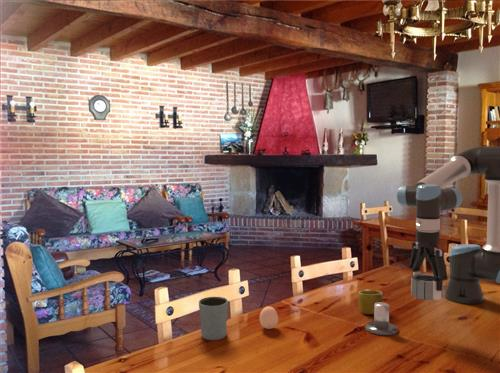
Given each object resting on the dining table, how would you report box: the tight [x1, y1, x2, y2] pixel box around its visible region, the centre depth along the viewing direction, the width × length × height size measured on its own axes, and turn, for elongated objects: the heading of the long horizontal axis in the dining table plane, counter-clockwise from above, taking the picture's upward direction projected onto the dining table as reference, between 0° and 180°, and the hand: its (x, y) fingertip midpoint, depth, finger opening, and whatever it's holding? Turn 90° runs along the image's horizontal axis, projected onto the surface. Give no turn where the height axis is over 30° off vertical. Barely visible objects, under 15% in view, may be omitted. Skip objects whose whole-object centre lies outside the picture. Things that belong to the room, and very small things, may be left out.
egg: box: [259, 306, 279, 330], centre depth 160 cm, size 7×7×8 cm
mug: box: [357, 288, 384, 316], centre depth 177 cm, size 12×10×10 cm
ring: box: [410, 273, 444, 301], centre depth 154 cm, size 10×10×6 cm
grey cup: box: [198, 296, 229, 341], centre depth 155 cm, size 10×10×12 cm
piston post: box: [365, 302, 399, 337], centre depth 159 cm, size 11×11×9 cm
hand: (426, 294), depth 154 cm, fingers closed on ring, 10 cm apart
